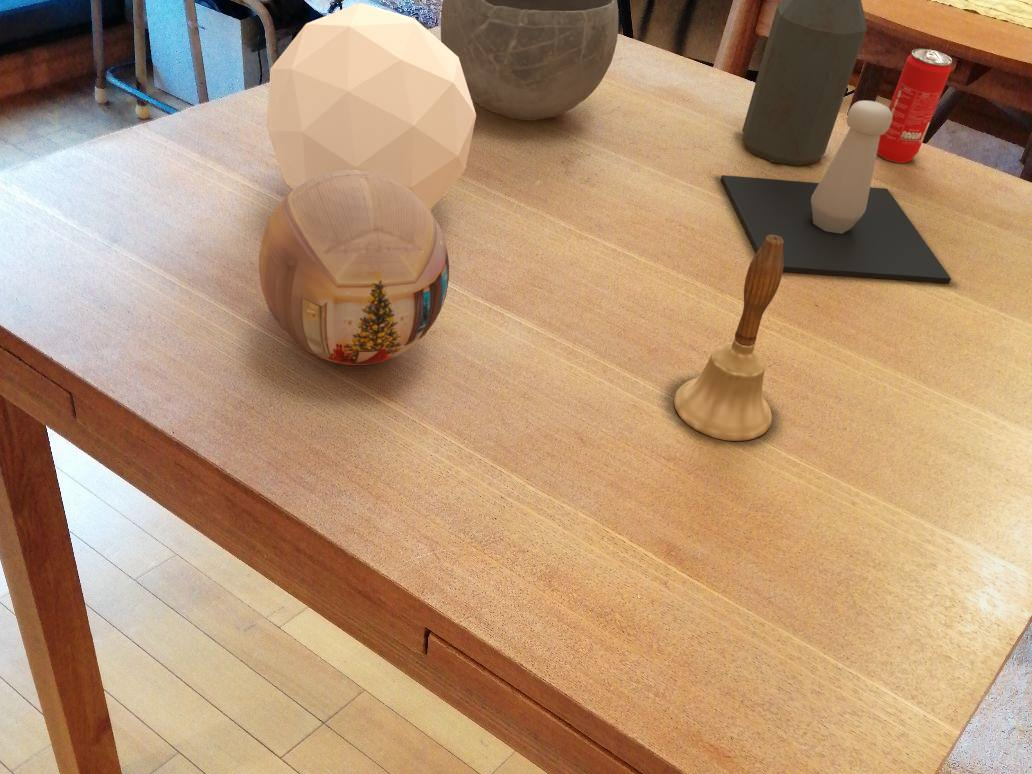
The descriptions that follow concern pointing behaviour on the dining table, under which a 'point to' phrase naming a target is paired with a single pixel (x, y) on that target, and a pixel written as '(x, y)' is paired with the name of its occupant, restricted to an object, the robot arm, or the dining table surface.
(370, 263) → the ornament
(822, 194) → the salt shaker
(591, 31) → the bowl
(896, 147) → the beverage can
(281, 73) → the ball
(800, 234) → the mat
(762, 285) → the hand bell
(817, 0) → the bottle
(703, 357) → the dining table surface
